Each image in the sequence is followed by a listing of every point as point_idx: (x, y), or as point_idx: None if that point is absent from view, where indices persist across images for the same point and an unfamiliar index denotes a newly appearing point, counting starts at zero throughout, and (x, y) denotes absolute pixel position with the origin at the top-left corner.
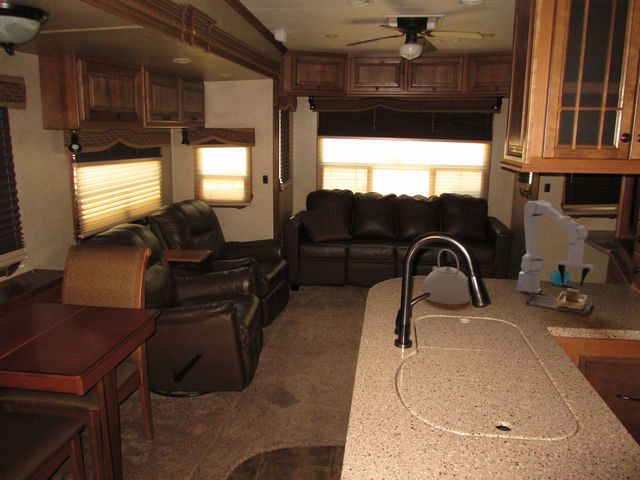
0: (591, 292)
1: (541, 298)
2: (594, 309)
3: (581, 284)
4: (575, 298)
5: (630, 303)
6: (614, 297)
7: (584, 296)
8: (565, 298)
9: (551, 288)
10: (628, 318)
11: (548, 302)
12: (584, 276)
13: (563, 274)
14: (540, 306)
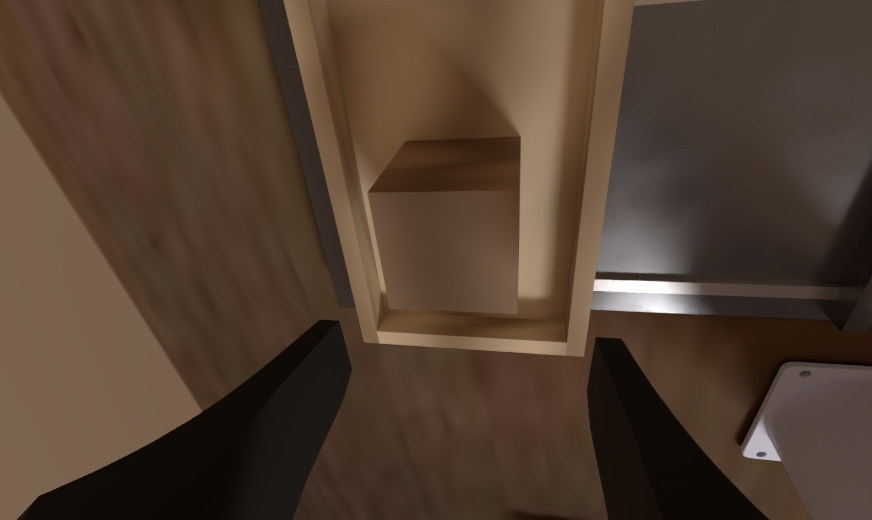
0: (423, 489)
1: (764, 241)
2: (301, 202)
3: (322, 324)
4: (409, 158)
5: None
6: None
7: (383, 324)
8: (532, 240)
9: None
10: (53, 125)
11: (695, 146)
12: (196, 425)
13: (633, 469)
14: None
